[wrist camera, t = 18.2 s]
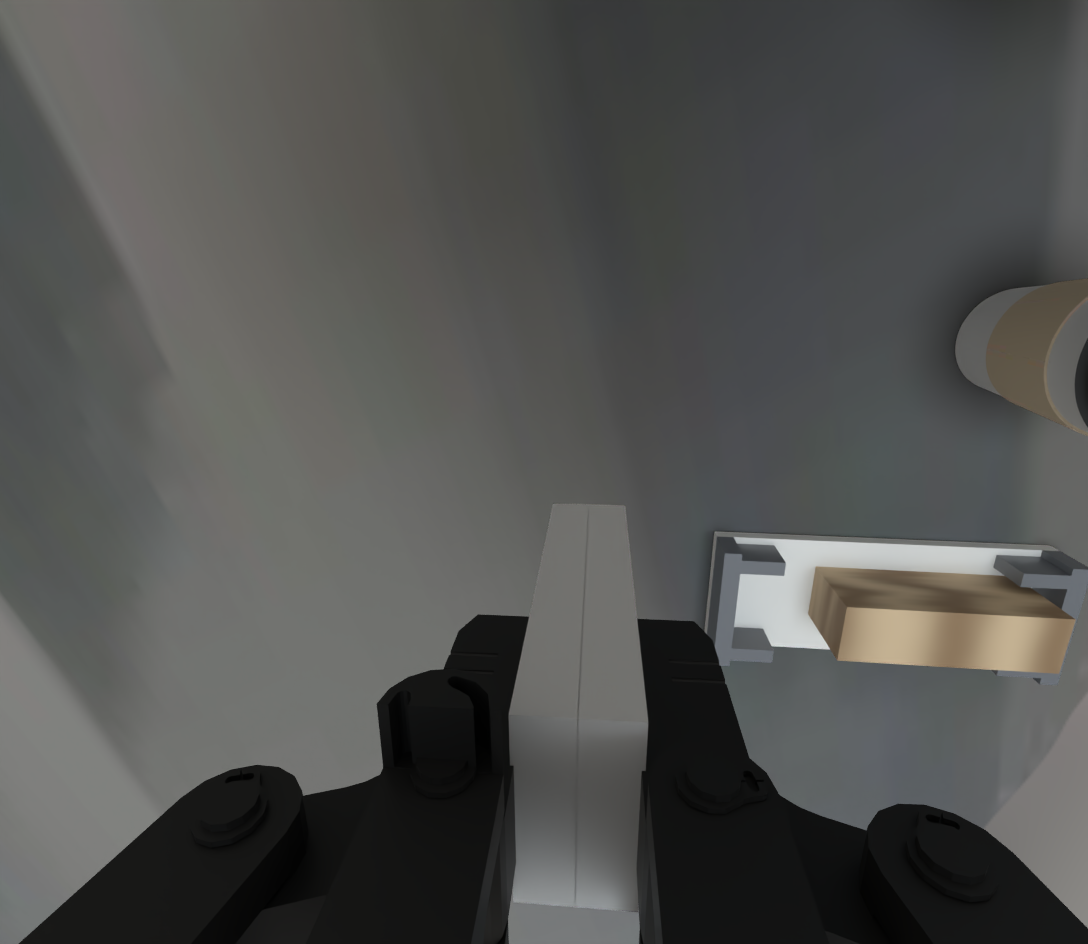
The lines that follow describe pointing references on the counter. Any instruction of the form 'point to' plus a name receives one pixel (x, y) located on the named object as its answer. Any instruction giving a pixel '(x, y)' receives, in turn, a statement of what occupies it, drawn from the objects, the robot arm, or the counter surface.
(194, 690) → the counter surface
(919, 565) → the holder
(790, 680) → the counter surface
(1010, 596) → the tan rectangular block
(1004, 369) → the coffee cup
